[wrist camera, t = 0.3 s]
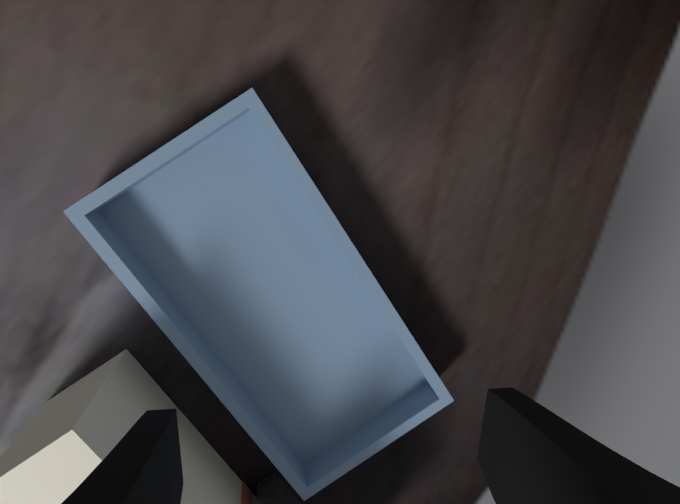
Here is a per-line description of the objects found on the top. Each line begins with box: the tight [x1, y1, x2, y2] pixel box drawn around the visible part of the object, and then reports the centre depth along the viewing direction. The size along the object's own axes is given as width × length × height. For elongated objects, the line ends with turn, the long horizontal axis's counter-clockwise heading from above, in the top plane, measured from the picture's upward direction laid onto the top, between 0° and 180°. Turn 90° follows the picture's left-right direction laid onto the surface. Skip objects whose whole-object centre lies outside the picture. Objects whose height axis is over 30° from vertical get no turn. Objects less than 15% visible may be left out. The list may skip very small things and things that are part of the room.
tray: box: [63, 88, 454, 501], centre depth 20 cm, size 8×16×2 cm, turn 32°
